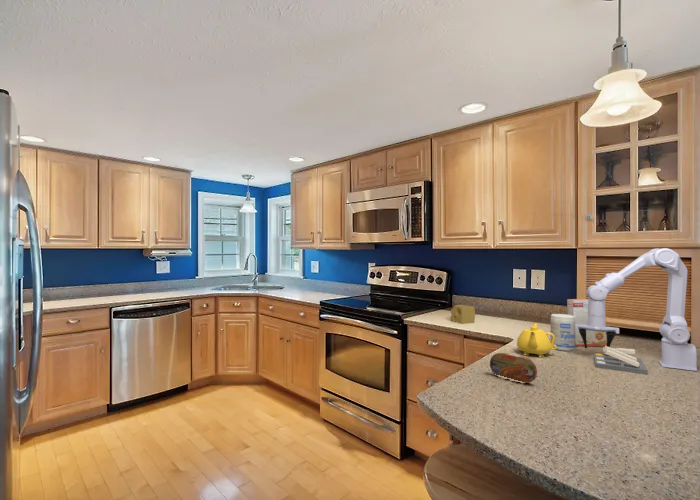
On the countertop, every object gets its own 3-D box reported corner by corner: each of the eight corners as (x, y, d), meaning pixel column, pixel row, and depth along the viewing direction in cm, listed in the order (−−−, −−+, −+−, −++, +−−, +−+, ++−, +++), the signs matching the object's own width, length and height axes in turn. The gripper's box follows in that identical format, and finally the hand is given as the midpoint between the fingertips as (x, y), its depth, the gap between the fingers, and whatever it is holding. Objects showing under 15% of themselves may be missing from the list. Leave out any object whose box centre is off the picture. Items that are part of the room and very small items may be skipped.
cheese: (450, 321, 225) (450, 305, 225) (463, 320, 229) (463, 304, 229) (462, 324, 215) (461, 307, 215) (475, 322, 220) (475, 306, 220)
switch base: (640, 362, 139) (640, 354, 139) (647, 374, 126) (647, 365, 126) (593, 356, 147) (593, 348, 147) (595, 367, 134) (595, 358, 134)
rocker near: (637, 365, 130) (638, 362, 130) (638, 367, 128) (639, 364, 127) (605, 352, 135) (606, 349, 134) (605, 353, 133) (606, 350, 132)
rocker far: (634, 352, 140) (634, 349, 140) (635, 354, 137) (635, 350, 137) (602, 349, 145) (602, 346, 145) (603, 351, 143) (603, 348, 143)
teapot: (556, 363, 139) (556, 333, 139) (514, 357, 146) (513, 329, 147) (557, 351, 156) (557, 324, 156) (519, 346, 164) (519, 321, 164)
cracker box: (598, 343, 168) (598, 298, 168) (606, 347, 162) (606, 300, 162) (567, 343, 170) (566, 298, 170) (573, 346, 164) (573, 300, 164)
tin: (489, 375, 125) (489, 350, 126) (494, 373, 128) (493, 349, 128) (534, 387, 114) (534, 360, 114) (538, 385, 116) (538, 358, 116)
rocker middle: (634, 361, 135) (636, 358, 135) (635, 362, 133) (637, 359, 132) (604, 348, 140) (605, 345, 140) (604, 349, 138) (605, 347, 137)
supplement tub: (563, 352, 154) (563, 317, 154) (545, 346, 163) (545, 314, 163) (581, 350, 157) (580, 316, 157) (562, 345, 166) (562, 313, 166)
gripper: (575, 315, 145) (575, 349, 145) (620, 318, 138) (620, 354, 138) (575, 312, 151) (575, 345, 151) (618, 315, 144) (618, 350, 144)
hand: (596, 349), depth 145 cm, fingers open, 7 cm apart
